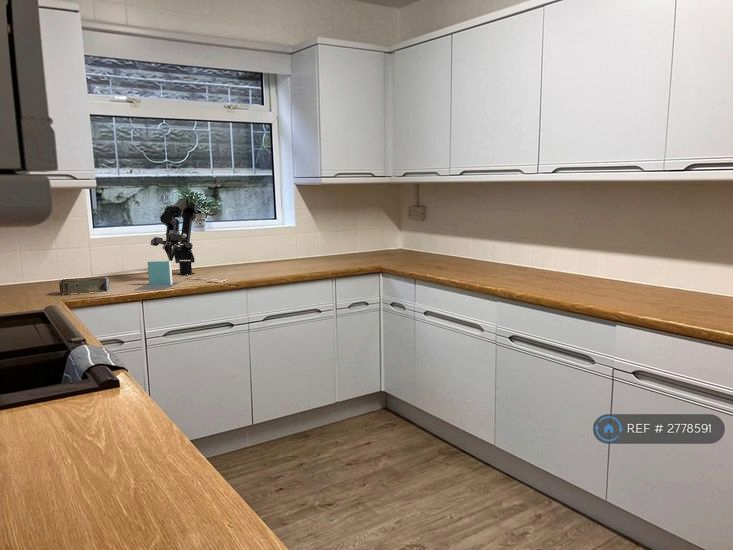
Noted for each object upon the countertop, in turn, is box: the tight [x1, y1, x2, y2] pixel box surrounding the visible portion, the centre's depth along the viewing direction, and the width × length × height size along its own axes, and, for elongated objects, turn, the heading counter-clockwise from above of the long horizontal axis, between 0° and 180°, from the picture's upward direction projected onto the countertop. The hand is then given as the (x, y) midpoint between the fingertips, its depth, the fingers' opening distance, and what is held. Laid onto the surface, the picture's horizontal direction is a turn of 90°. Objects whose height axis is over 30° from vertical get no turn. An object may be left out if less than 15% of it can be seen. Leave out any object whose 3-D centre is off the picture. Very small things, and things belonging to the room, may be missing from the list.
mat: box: [134, 281, 181, 291], centre depth 270 cm, size 20×14×1 cm
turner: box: [185, 277, 229, 284], centre depth 284 cm, size 22×7×1 cm, turn 69°
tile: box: [147, 260, 173, 285], centre depth 273 cm, size 2×10×11 cm, turn 88°
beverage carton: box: [59, 276, 110, 294], centre depth 259 cm, size 8×19×7 cm, turn 108°
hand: (170, 261), depth 283 cm, fingers closed
